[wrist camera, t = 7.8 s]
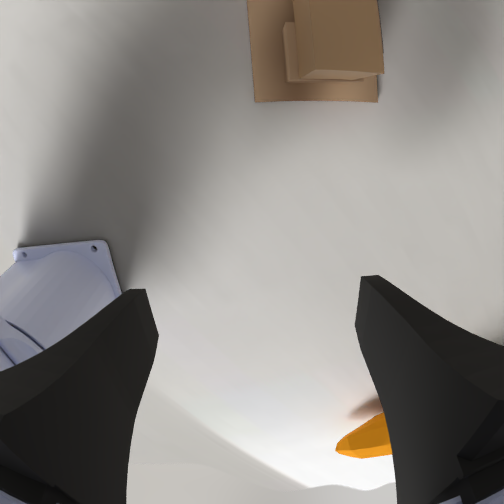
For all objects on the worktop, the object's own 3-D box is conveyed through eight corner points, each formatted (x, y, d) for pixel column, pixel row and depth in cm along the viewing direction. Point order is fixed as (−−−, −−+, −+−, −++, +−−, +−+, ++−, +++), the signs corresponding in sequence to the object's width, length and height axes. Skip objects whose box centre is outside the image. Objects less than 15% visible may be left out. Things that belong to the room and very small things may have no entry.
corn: (511, 427, 21) (344, 495, 24) (485, 385, 28) (335, 441, 31) (529, 387, 19) (336, 468, 21) (494, 342, 26) (325, 406, 29)
